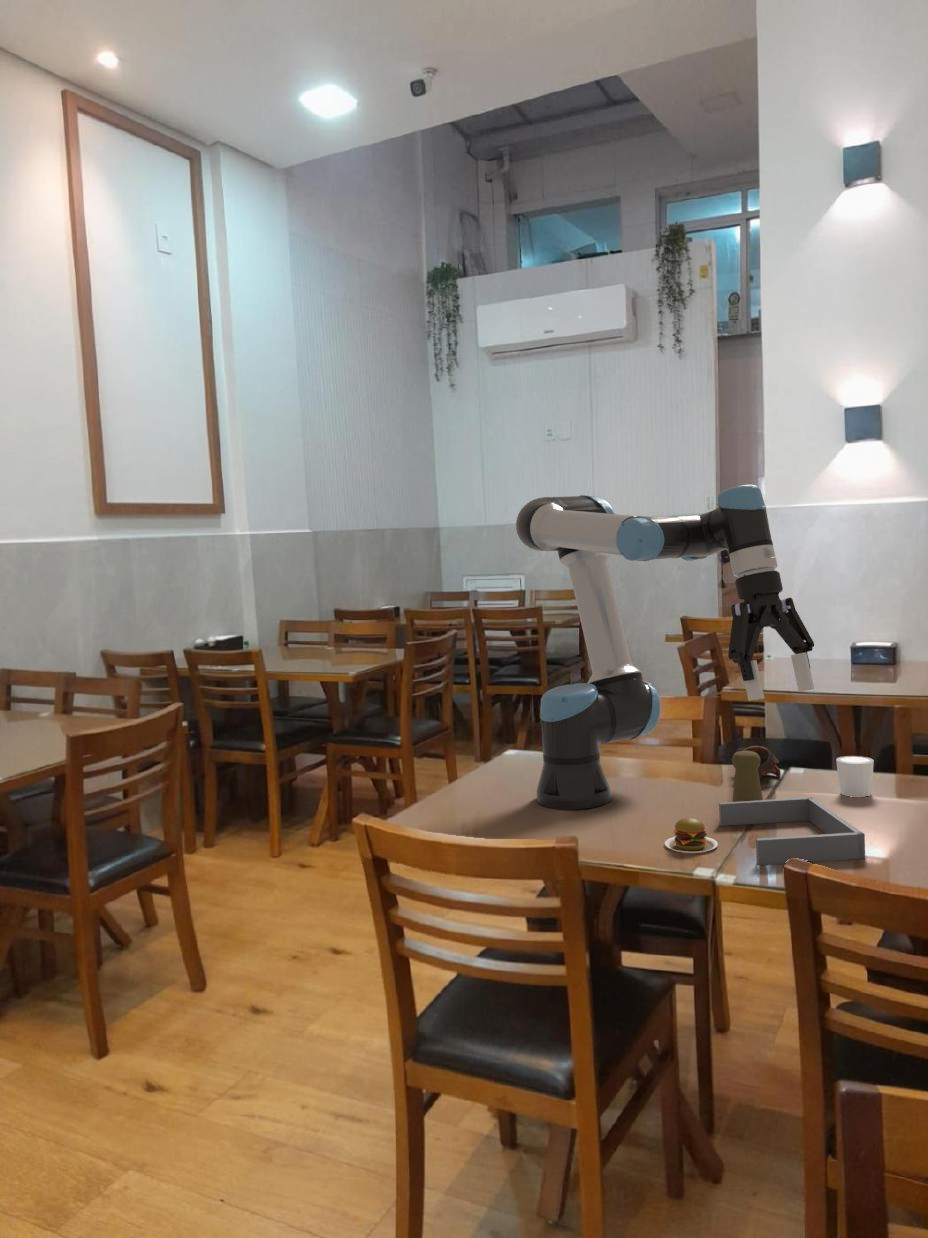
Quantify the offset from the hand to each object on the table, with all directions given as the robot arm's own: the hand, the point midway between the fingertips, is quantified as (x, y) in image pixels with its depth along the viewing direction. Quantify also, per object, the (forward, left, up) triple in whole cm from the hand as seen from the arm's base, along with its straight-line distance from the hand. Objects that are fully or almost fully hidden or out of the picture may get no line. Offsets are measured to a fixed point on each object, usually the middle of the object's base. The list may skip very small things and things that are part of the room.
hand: (782, 695), depth 158 cm
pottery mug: (-39, +7, -25) cm, 47 cm away
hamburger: (+1, -17, -26) cm, 31 cm away
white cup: (-23, +22, -25) cm, 41 cm away
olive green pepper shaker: (-18, -1, -25) cm, 31 cm away
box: (+2, 0, -25) cm, 25 cm away
